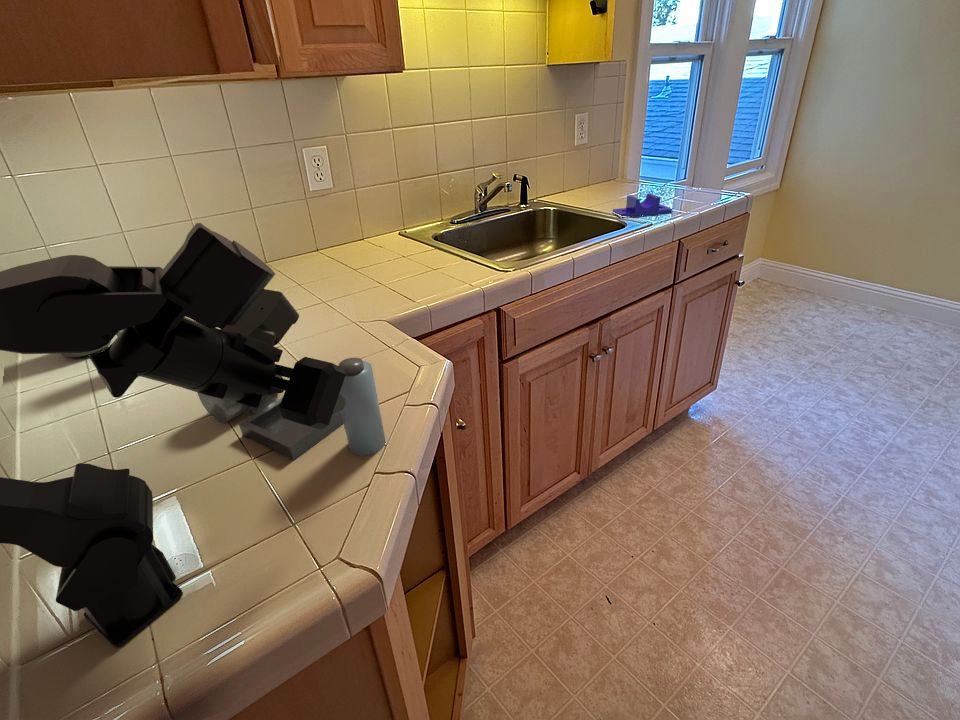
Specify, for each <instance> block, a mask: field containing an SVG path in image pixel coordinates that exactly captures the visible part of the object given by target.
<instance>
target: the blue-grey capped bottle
mask: <svg viewBox="0 0 960 720" xmlns="http://www.w3.org/2000/svg"><path fill="white" fill-rule="evenodd" d="M338 366H340V367H342V368H343V369H344V371H345V374H346V376H345V379H344V382H343V384H342V387H341V390H340V394H341V395H342V396H343V397H344V398H345V400H346V404H345V407H344V409H343V410H341V414H342V418H343V423H344V424H343V426H344V430H345V435H346V438H347V439H346V440H347V443H348V444H347V445H348V447H349V450H350V452H351V453H352V454H354V455H356V456H361V457H362V456H363V457H364V456H369V455H370V456H371V455H374V454H376V453H377V452H380V451H381V450H382V449H383V448H384V447H385V445H386V436H385V430H384V425H383V419H382V413H381V408H380V403H379V398H378V392H377V387H376V383H375V377H374V370H373V366H372V364H371V363H370V362H368V361H365V360H363V359H362V358H359V357H347V358H344V359H343V360H341V361H339V363H338Z"/></svg>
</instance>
